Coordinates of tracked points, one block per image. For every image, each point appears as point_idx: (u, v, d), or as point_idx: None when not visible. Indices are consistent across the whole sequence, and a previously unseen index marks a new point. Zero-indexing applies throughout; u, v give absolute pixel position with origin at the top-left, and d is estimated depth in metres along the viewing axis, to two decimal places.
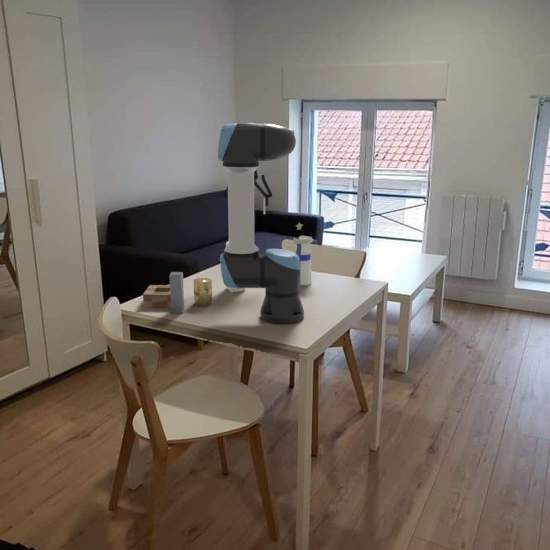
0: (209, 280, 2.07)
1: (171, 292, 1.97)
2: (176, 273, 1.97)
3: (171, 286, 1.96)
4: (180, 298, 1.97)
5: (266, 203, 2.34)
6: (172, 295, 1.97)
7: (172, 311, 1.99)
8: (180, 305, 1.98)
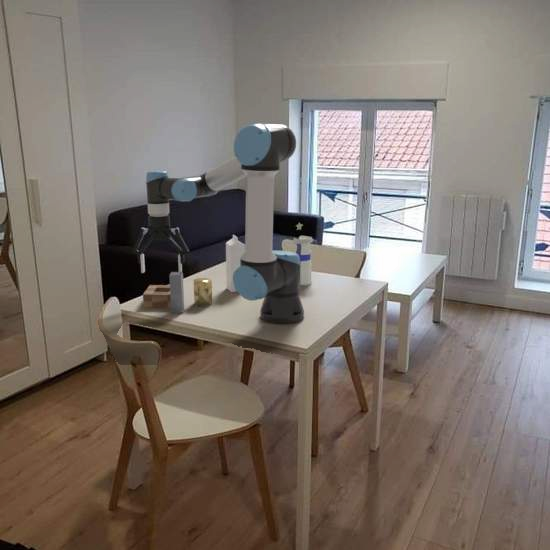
0: (209, 280, 2.07)
1: (171, 292, 1.97)
2: (176, 273, 1.97)
3: (171, 286, 1.96)
4: (180, 298, 1.97)
5: (181, 260, 2.05)
6: (172, 295, 1.97)
7: (172, 311, 1.99)
8: (180, 305, 1.98)
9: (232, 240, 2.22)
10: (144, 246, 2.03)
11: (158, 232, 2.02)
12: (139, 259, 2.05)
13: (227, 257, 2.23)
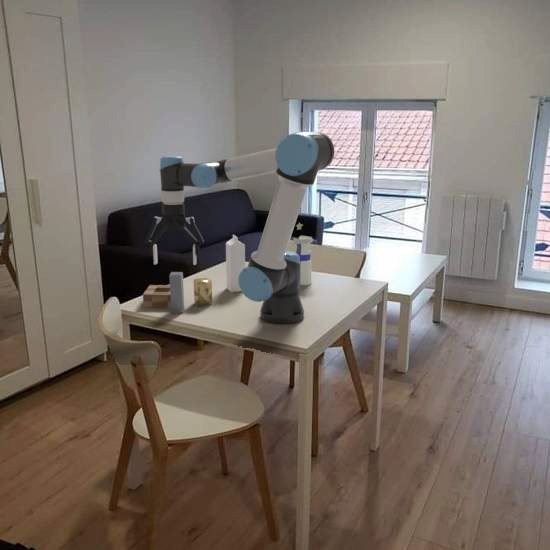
0: (209, 280, 2.07)
1: (171, 292, 1.97)
2: (176, 273, 1.97)
3: (171, 286, 1.96)
4: (180, 298, 1.97)
5: (196, 252, 1.94)
6: (172, 295, 1.97)
7: (172, 311, 1.99)
8: (180, 305, 1.98)
9: (232, 240, 2.22)
10: (157, 236, 1.92)
11: (172, 221, 1.91)
12: (151, 250, 1.94)
13: (227, 257, 2.23)
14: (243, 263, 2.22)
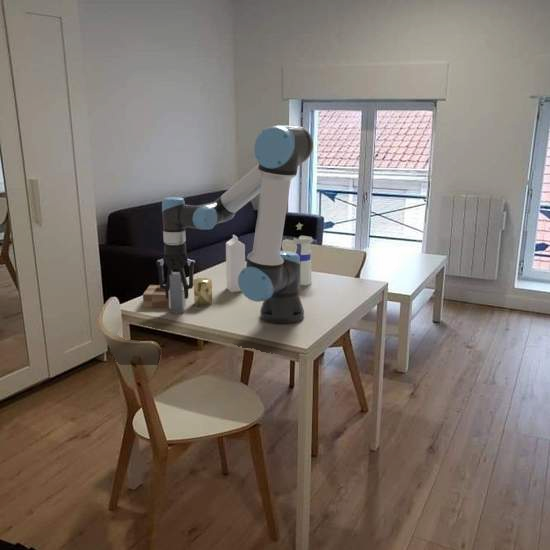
0: (209, 280, 2.07)
1: (171, 292, 1.97)
2: (176, 273, 1.97)
3: (171, 286, 1.96)
4: (180, 298, 1.97)
5: (185, 295, 1.98)
6: (172, 295, 1.97)
7: (172, 311, 1.99)
8: (180, 305, 1.98)
9: (232, 240, 2.22)
10: (168, 279, 1.96)
11: (174, 261, 1.95)
12: (167, 294, 1.98)
13: (227, 257, 2.23)
14: (243, 263, 2.22)
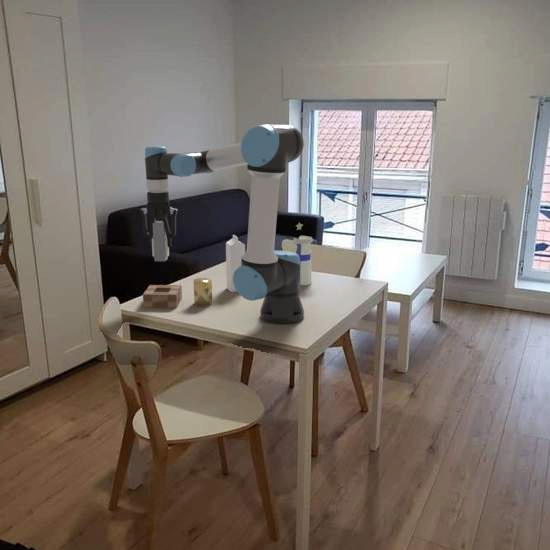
0: (209, 280, 2.07)
1: (154, 240, 2.02)
2: (159, 221, 2.02)
3: (154, 234, 2.01)
4: (163, 246, 2.03)
5: (168, 244, 2.04)
6: (156, 242, 2.02)
7: (155, 259, 2.04)
8: (163, 253, 2.03)
9: (232, 240, 2.22)
10: (151, 227, 2.01)
11: (157, 209, 2.00)
12: (150, 242, 2.03)
13: (227, 257, 2.23)
14: None
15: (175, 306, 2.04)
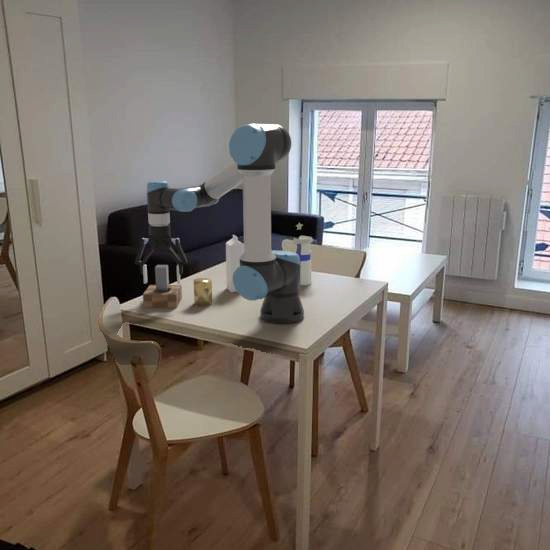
0: (209, 280, 2.07)
1: (157, 284, 2.06)
2: (161, 266, 2.07)
3: (156, 278, 2.06)
4: (165, 290, 2.07)
5: (180, 271, 2.06)
6: (158, 286, 2.07)
7: None
8: None
9: (232, 240, 2.22)
10: (146, 256, 2.04)
11: (158, 242, 2.03)
12: (142, 270, 2.06)
13: (227, 257, 2.23)
14: None
15: (175, 306, 2.04)
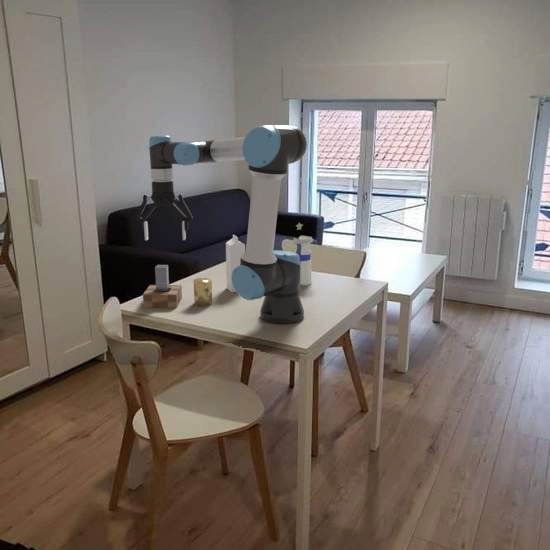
0: (209, 280, 2.07)
1: (157, 284, 2.06)
2: (161, 266, 2.07)
3: (156, 278, 2.06)
4: (165, 290, 2.07)
5: (185, 227, 2.03)
6: (158, 286, 2.07)
7: None
8: None
9: (232, 240, 2.22)
10: (147, 213, 2.01)
11: (162, 198, 2.00)
12: (142, 226, 2.03)
13: (227, 257, 2.23)
14: None
15: (175, 306, 2.04)
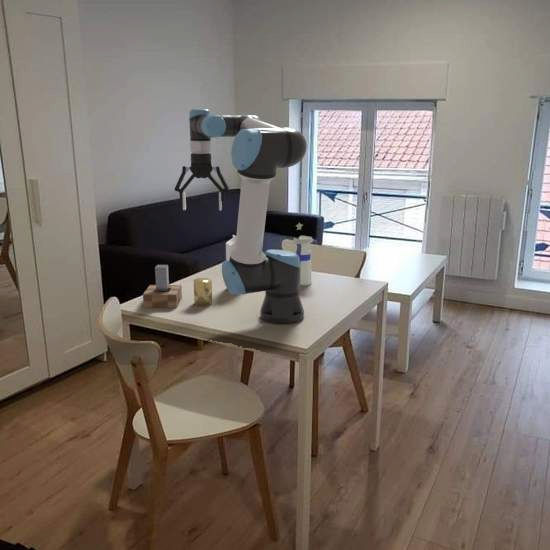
0: (209, 280, 2.07)
1: (157, 284, 2.06)
2: (161, 266, 2.07)
3: (156, 278, 2.06)
4: (165, 290, 2.07)
5: (222, 198, 2.12)
6: (158, 286, 2.07)
7: None
8: None
9: (232, 240, 2.22)
10: (186, 183, 2.10)
11: (200, 170, 2.09)
12: (181, 197, 2.12)
13: (227, 257, 2.23)
14: None
15: (175, 306, 2.04)
